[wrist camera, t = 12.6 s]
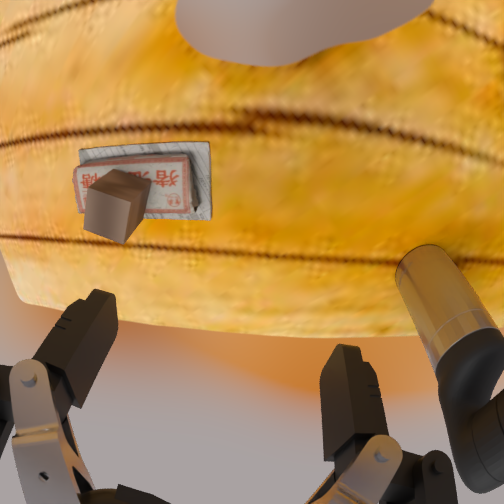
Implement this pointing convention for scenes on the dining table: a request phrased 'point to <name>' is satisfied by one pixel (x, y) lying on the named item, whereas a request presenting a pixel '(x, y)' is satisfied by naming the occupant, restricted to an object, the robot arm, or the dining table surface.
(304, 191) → the dining table surface
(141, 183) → the walnut block
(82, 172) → the packaged product
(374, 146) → the dining table surface
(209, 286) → the dining table surface
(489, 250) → the dining table surface
